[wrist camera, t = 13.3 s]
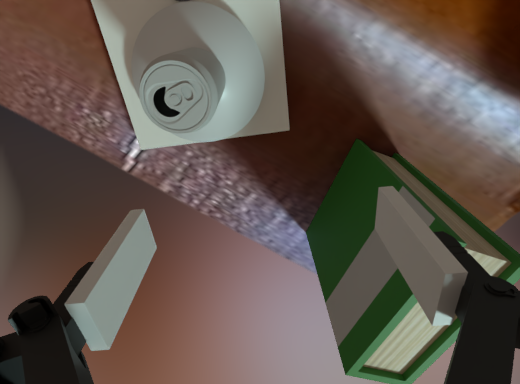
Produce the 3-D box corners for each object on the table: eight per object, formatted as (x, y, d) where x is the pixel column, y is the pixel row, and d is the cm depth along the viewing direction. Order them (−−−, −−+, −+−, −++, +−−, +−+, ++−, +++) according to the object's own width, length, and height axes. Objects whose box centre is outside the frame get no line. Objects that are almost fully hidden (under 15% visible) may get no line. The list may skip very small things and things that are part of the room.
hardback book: (356, 138, 43) (457, 240, 22) (399, 154, 45) (533, 265, 24) (306, 232, 51) (345, 374, 30) (344, 243, 52) (408, 387, 31)
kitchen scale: (270, -81, 32) (273, -98, 27) (287, 124, 42) (291, 135, 38) (85, -52, 32) (60, -65, 28) (147, 142, 43) (135, 155, 38)
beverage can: (158, 62, 33) (116, 77, 23) (209, 36, 32) (190, 39, 22) (188, 115, 36) (162, 150, 26) (236, 92, 35) (229, 119, 24)
